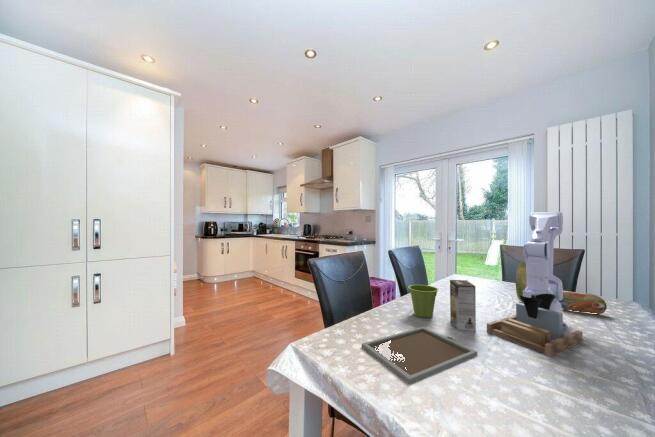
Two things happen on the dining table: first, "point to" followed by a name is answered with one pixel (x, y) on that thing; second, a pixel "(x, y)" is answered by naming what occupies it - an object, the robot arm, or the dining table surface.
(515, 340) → the rack
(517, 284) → the vegetable
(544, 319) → the blue grey rectangular slab
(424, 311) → the plant pot
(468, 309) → the coffee box
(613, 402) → the dining table surface
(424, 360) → the picture frame
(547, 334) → the offcut
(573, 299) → the tin
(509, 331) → the offcut
